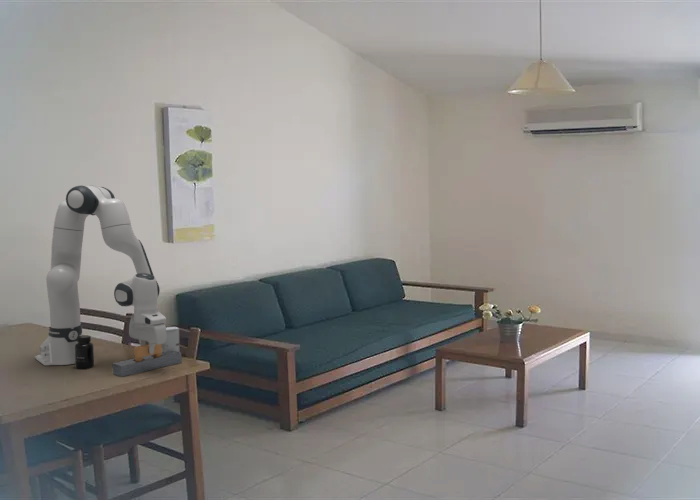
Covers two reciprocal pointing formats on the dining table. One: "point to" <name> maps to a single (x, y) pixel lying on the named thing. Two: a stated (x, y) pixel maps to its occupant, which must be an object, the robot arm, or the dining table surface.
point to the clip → (146, 351)
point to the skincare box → (171, 340)
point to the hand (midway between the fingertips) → (147, 352)
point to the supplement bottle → (84, 352)
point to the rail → (146, 363)
